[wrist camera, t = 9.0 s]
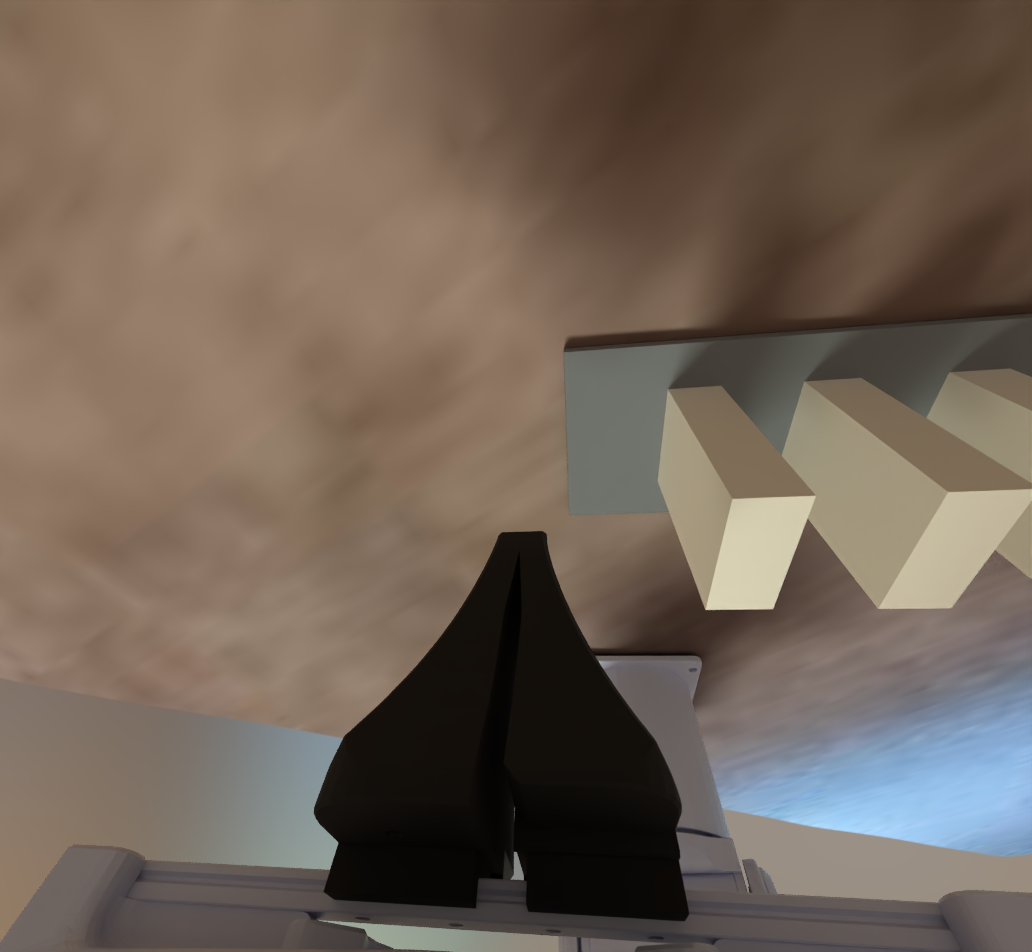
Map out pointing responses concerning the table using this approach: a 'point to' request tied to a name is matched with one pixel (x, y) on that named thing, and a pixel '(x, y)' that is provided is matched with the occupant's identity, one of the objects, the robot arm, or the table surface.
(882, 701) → the table surface
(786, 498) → the domino
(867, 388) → the domino
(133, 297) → the table surface
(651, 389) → the mat
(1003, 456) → the domino
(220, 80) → the table surface
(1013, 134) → the table surface
